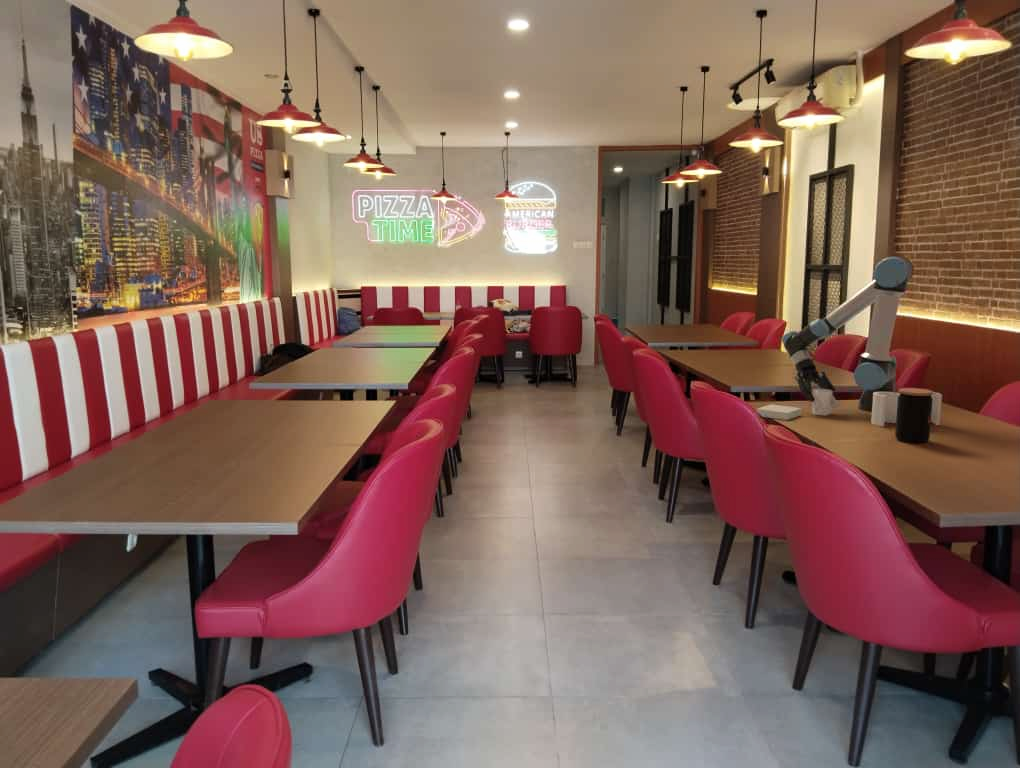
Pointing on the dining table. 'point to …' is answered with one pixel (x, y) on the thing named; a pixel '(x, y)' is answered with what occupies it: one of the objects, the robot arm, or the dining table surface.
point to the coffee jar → (913, 415)
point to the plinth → (779, 412)
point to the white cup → (822, 401)
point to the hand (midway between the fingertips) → (826, 406)
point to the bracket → (887, 408)
